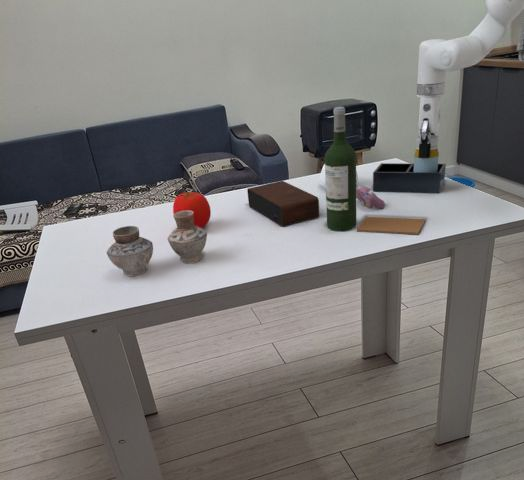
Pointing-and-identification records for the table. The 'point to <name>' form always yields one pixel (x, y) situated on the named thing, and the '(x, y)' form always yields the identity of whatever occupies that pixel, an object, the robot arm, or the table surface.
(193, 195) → the tomato
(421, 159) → the bottle
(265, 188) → the brown box
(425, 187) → the divided storage box
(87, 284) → the table surface
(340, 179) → the wine bottle
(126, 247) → the pottery
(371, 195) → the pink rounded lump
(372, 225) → the cork mat
